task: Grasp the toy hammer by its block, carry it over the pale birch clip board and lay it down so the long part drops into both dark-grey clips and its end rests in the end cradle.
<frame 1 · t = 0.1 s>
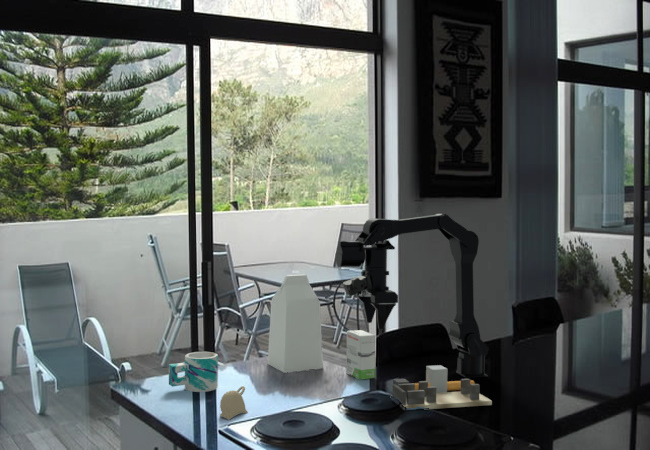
hand: (374, 325, 193), 15 cm above the kitchen counter, fingers open, 9 cm apart
clip board: (440, 402, 174), on the kitchen counter
milk: (295, 366, 209), on the kitchen counter
mug: (193, 389, 184), on the kitchen counter
ink box: (360, 376, 199), on the kitchen counter
toy hammer: (436, 391, 184), on the kitchen counter
decorative ornament: (233, 415, 163), on the kitchen counter
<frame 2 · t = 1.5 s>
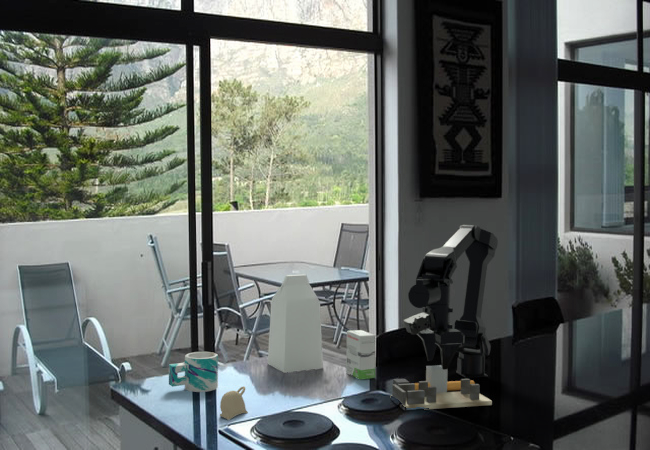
hand: (437, 365, 184), 7 cm above the kitchen counter, fingers open, 9 cm apart
nothing on the kitchen counter moved.
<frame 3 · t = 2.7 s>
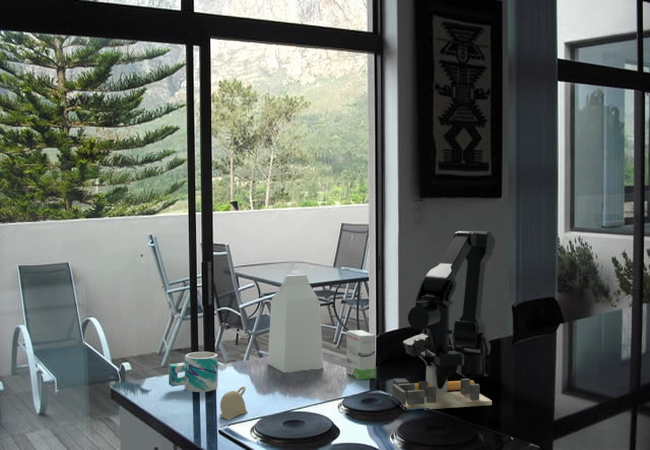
hand: (436, 386, 184), 1 cm above the kitchen counter, fingers closed on toy hammer, 4 cm apart
toy hammer: (436, 391, 184), on the kitchen counter, touching gripper
everything else where it was.
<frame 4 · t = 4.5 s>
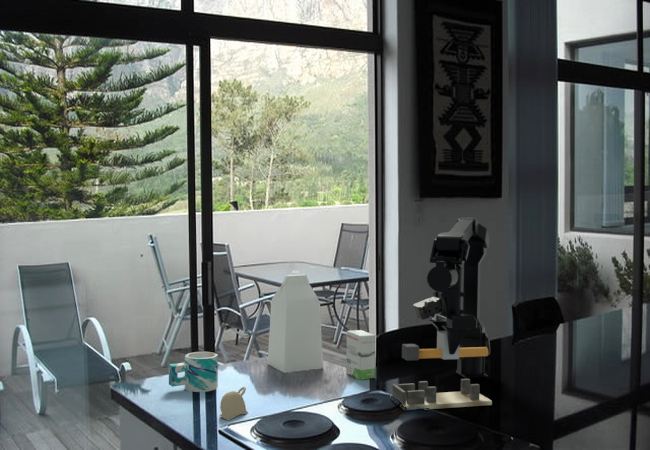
hand: (448, 352, 175), 12 cm above the kitchen counter, fingers closed on toy hammer, 4 cm apart
toy hammer: (447, 357, 175), point 11 cm above the kitchen counter, touching gripper
everything else where it was.
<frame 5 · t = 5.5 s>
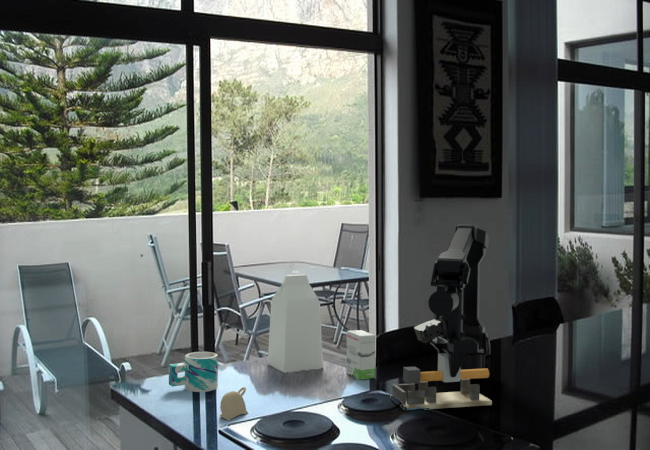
hand: (449, 374, 175), 7 cm above the kitchen counter, fingers closed on toy hammer, 4 cm apart
toy hammer: (448, 379, 175), point 5 cm above the kitchen counter, touching gripper
everything else where it was.
when the fingers open (3 cm above the kitchen counter, at t = 6.5 s): toy hammer stays where it is, resting on clip board.
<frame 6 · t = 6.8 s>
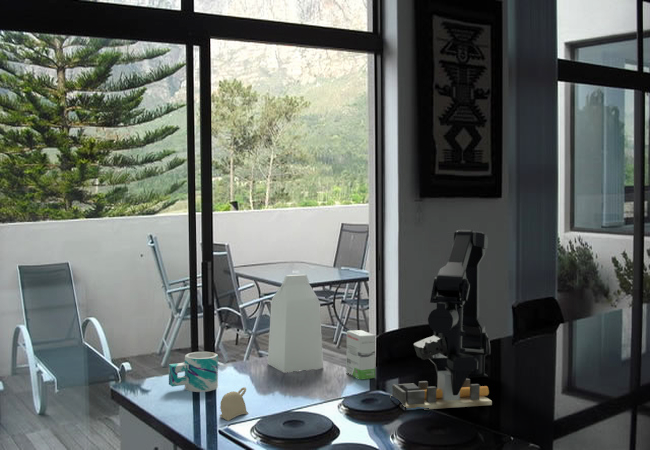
hand: (448, 391, 175), 3 cm above the kitchen counter, fingers open, 7 cm apart
toy hammer: (448, 397, 175), point 1 cm above the kitchen counter, touching clip board
everything else where it was.
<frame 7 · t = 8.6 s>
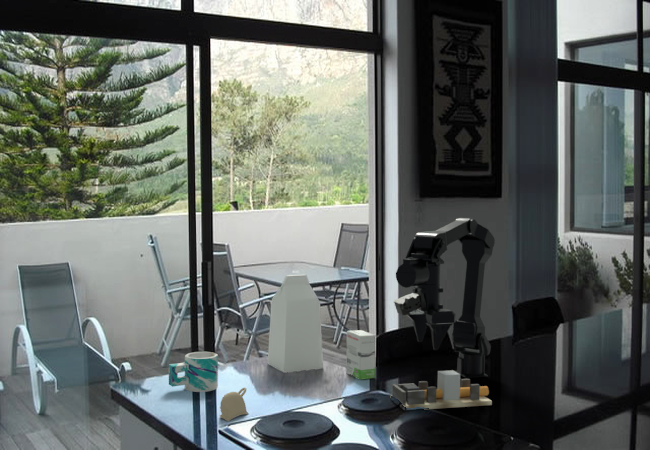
hand: (427, 345, 183), 12 cm above the kitchen counter, fingers open, 9 cm apart
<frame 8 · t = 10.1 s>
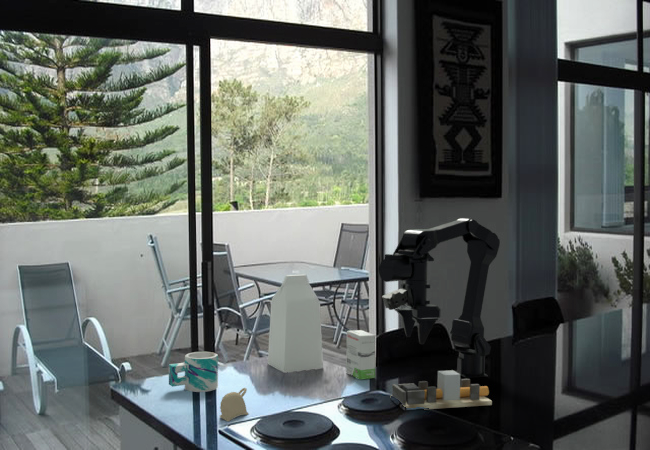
hand: (414, 340, 188), 12 cm above the kitchen counter, fingers open, 9 cm apart
at the end: toy hammer 0.1 cm from the target spot on the clip board, point 1.0 cm above the clip board's base; toy hammer tilted 0°; the gripper is holding nothing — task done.
